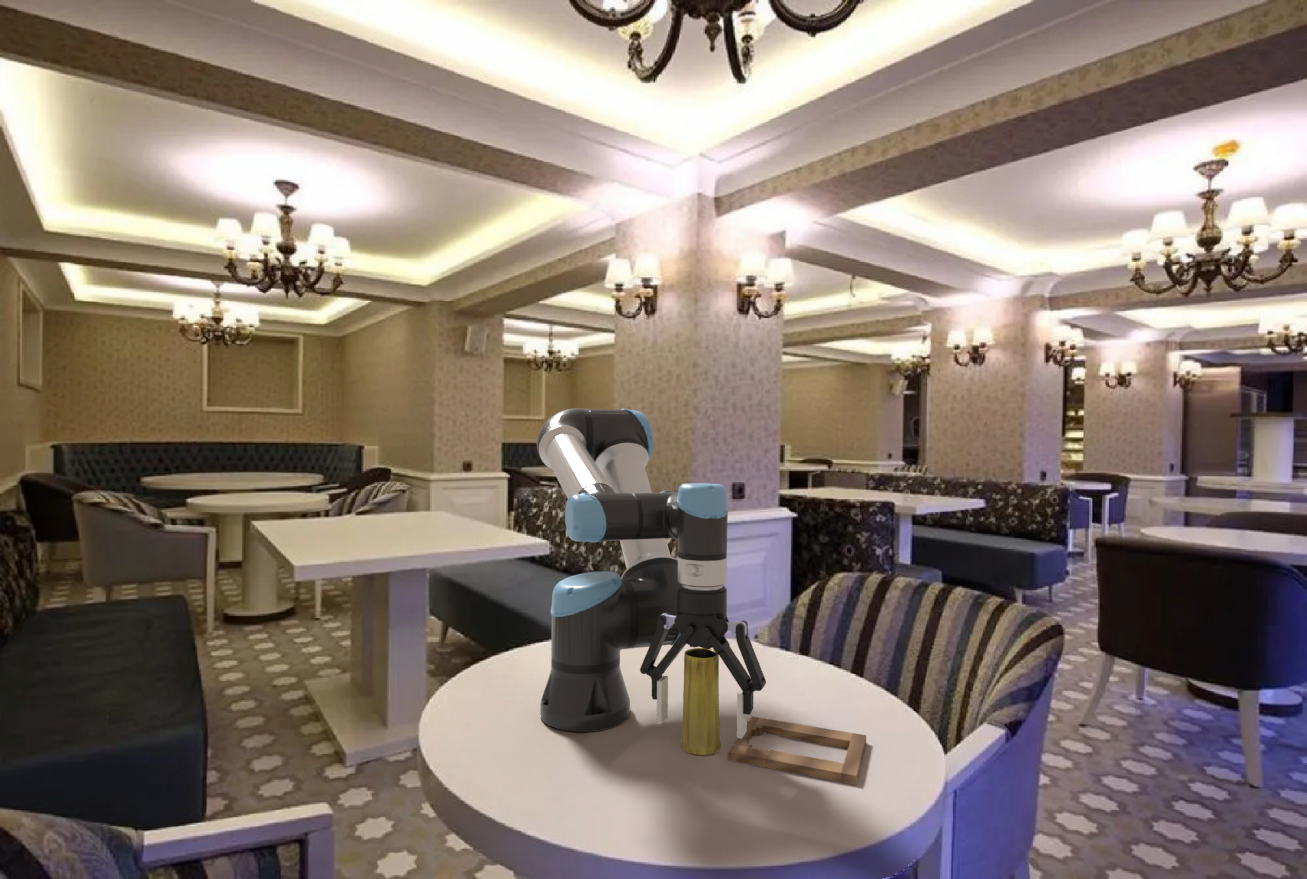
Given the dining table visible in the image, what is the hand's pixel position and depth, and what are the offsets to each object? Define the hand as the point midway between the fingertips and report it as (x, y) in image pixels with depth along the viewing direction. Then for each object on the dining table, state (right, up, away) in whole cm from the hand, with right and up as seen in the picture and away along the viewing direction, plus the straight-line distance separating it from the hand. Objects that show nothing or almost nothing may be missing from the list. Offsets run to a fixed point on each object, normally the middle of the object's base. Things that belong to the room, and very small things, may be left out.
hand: (701, 727), depth 103 cm
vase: (0, -3, 0) cm, 3 cm away
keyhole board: (+15, -3, -1) cm, 15 cm away
